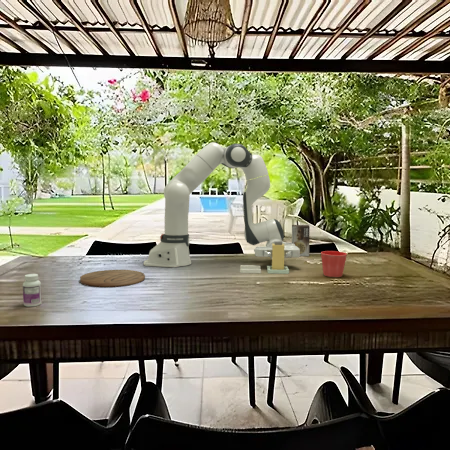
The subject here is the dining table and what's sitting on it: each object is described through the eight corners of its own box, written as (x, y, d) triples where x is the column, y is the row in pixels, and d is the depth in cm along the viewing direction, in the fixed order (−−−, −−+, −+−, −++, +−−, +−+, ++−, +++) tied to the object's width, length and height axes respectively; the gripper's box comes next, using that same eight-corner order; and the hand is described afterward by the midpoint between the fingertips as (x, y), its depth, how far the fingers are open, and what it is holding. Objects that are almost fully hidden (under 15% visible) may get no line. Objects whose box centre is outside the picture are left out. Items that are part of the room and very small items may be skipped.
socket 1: (240, 272, 191) (240, 269, 190) (240, 268, 200) (240, 265, 200) (261, 273, 190) (261, 269, 190) (260, 268, 199) (260, 265, 199)
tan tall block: (272, 272, 192) (272, 242, 191) (271, 270, 197) (272, 240, 196) (283, 272, 192) (284, 242, 190) (282, 270, 197) (283, 241, 195)
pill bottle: (27, 302, 143) (25, 273, 142) (43, 302, 144) (42, 273, 143) (20, 307, 138) (19, 276, 137) (38, 306, 138) (37, 276, 137)
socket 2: (267, 273, 190) (268, 269, 190) (267, 269, 199) (267, 265, 199) (288, 273, 190) (289, 270, 190) (287, 269, 199) (287, 266, 199)
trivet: (66, 284, 168) (66, 279, 168) (105, 272, 192) (105, 267, 191) (122, 291, 160) (122, 285, 160) (156, 276, 183) (156, 272, 183)
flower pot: (347, 274, 190) (348, 251, 189) (343, 279, 180) (344, 255, 179) (323, 271, 195) (324, 250, 194) (317, 276, 185) (318, 253, 184)
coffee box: (308, 254, 239) (309, 224, 238) (309, 256, 233) (310, 226, 231) (291, 253, 240) (291, 224, 238) (291, 255, 234) (292, 225, 232)
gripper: (253, 242, 207) (254, 247, 193) (297, 243, 206) (301, 248, 192) (253, 256, 207) (254, 261, 194) (297, 256, 206) (301, 262, 193)
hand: (278, 254), depth 193 cm, fingers open, 7 cm apart
